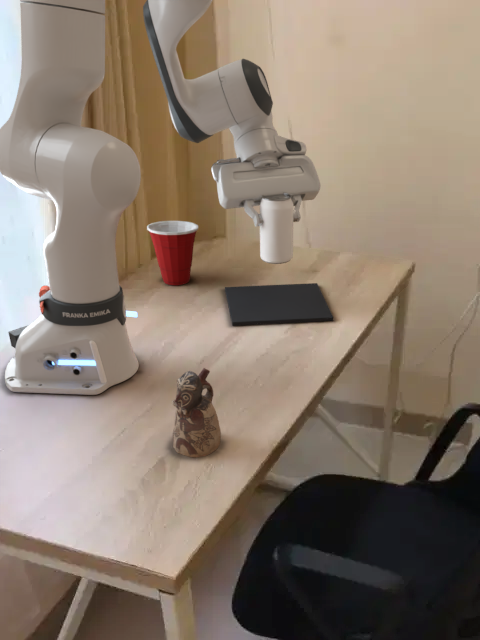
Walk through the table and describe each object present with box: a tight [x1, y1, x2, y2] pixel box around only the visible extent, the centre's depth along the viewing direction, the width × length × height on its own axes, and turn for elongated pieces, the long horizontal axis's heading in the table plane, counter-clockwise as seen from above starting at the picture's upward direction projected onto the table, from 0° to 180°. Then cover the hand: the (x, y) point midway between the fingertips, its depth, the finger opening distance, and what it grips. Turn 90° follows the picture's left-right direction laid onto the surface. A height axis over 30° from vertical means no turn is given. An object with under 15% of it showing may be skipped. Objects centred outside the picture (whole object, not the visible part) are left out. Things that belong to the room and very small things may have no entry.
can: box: [259, 192, 294, 265], centre depth 145 cm, size 6×6×12 cm
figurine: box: [171, 367, 222, 458], centre depth 108 cm, size 7×7×12 cm
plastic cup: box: [146, 220, 199, 286], centre depth 160 cm, size 11×11×12 cm
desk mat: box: [224, 282, 334, 327], centre depth 153 cm, size 20×18×1 cm
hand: (278, 222), depth 144 cm, fingers closed on can, 6 cm apart
